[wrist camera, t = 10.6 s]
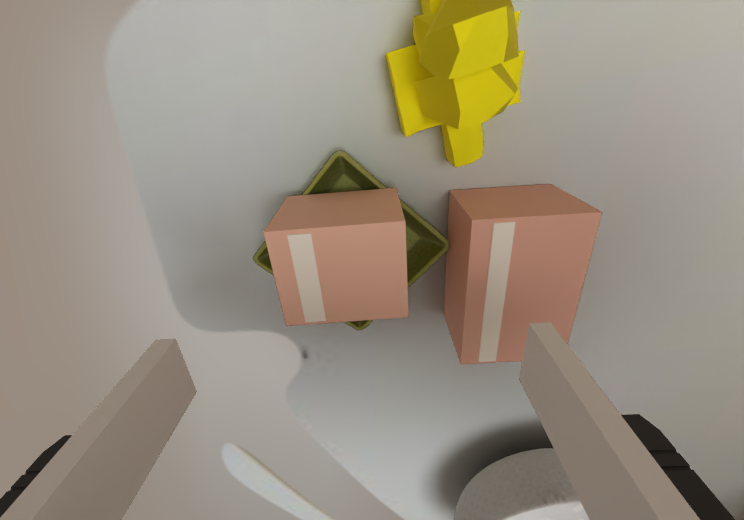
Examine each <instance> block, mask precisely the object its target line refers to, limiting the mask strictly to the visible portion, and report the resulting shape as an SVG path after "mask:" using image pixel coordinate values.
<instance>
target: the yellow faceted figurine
mask: <svg viewBox="0 0 744 520" xmlns="http://www.w3.org/2000/svg"><path fill="white" fill-rule="evenodd" d="M420 2H421V8H422V14H423V15H417V16H414V24H413V37H414V40H415V43H416V44H414V45H411V46H408V47H405V48H401V49H398V50H395V51H392V52H389V53H387V54H386V60H387V65H388V69H389V74H390V78H391V83H392V88H393V92H394V97H395V102H396V106H397V111H398V115H399V120H400V125H401V129H402V132H403V134H404V135H405V136H406V137H408V136H410V135H412V134H414V133H416V132H418V131H420V130H424V129H427V128H431V127H434V126H438V125H441V129H442V135H443V141H444V147H445V153H446V159H447V160H448V161H449V162H450V163H451V164H452V165H453V166H454V167H455V168H456V167H459V166H463V165H467V164H471V163H472V162H474V161H476V160H477V159H479V158H481V157H482V154H483V146H484V140H483V132H482V123H484V122H485V121H487V120H489V119H490V118H492V117H494V116H496V115H498V114H500V113H501V112H503V111H504V109H505V108H506V107H507V106H508V105H512V104H516V103H519V102H520V88H519V83H520V77H521V71H522V65H523V59H524V53H525V50H523V51H518V36H517V26H518V21H519V15H520V11H517V12H514V8H513V5H512V3H511V0H420Z"/></svg>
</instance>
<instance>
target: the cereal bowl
mask: <svg viewBox="0 0 744 520" xmlns="http://www.w3.org/2000/svg"><path fill="white" fill-rule="evenodd" d="M453 520H589V518H588V516H587V514H586V512H585V510H584V508H583V506H582V504H581V502H580V500H579V498H578V496H577V494H576V492H575V490H574V488H573V486H572V484H571V482H570V480H569V478H568V476H567V474H566V472H565V470H564V468H563V466H562V464H561V462H560V460H559V458H558V456H557V454H556V452H555V450H554V448H543V449H541V448H540V449H535V450H529V451H523V452H519V453H516V454H513V455H510V456H507V457H505V458H503V459H500V460H498V461H496V462H494V463H493V464H490V465H489V466H487V467H486V468H484V469H482V470H481V471H480V472H479V473H478V474H476V475H475V477H474V478H472V479H471V481H470V482H469V483H468V484H467V485H466V487H465V488H464V490H463V492H462V494H461V495H460V498H459V501H458V503H457V506H456V509H455V514H454V519H453Z"/></svg>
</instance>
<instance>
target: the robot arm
mask: <svg viewBox="0 0 744 520" xmlns="http://www.w3.org/2000/svg"><path fill="white" fill-rule="evenodd" d="M519 380H520V382H521V384H522V386H523V388H524V390H525V392H526V394H527V396H528V398H529V400H530V402H531V404H532V406H533V408H534V410H535V412H536V414H537V416H538V418H539V420H540V422H541V424H542V426H543V428H544V430H545V432H546V434H547V436H548V438H549V440H550V442H551V444H552V446H553V448H554V450H555V452H556V454H557V456H558V458H559V460H560V462H561V464H562V466H563V468H564V470H565V472H566V474H567V476H568V478H569V480H570V482H571V484H572V486H573V488H574V490H575V492H576V494H577V496H578V498H579V500H580V502H581V504H582V506H583V508H584V510H585V512H586V514H587V516H588V518H589V520H735V519H734V518H733V517H732V516H731V514H730V513H729V512H728V511H727V510H726V508H725V507H724V506H723V505H722V504H721V503H720V501H719V500H718V499H717V498H716V497H715V495H714V494H713V493H712V492H711V491H710V489H709V488H708V487H707V486H706V485H705V483H704V482H703V481H702V480H701V479H700V477H699V476H698V475H697V474H696V473H695V471H694V470H691V469H690V466H689V464H688V463H687V462H686V461H685V460H684V458H683V457H682V456H681V455H680V454H679V453H677V452H676V449H675V448H674V446H673V445H672V444H671V443H670V442H669V440H668V439H667V438H666V437H665V436H664V435H663V433H662V432H661V431H660V430H659V429H658V428H656V427H655V426H654V425H652V424H651V423H650V422H648V421H647V420H646V419H644V418H643V417H642V416H640V415H639V414H634V415H621V414H620V413H619V412H618V411H617V409H616V408H615V407H614V405H613V404H612V403H611V401H610V400H609V399H608V397H607V396H606V395H605V393H604V392H603V391H602V389H601V388H600V387H599V385H598V384H597V383H596V381H595V380H594V379H593V378H592V376H591V375H590V374H589V372H588V371H587V370H586V368H585V367H584V366H583V364H582V363H581V362H580V360H579V359H578V358H577V356H576V355H575V354H574V352H573V351H572V350H571V348H570V347H569V346H568V345H567V343H566V342H565V341H564V339H563V338H562V337H561V335H560V334H559V333H558V331H557V330H556V329H555V327H554V326H553V325H552V323H551V322H547V323H529V328H528V333H527V339H526V345H525V350H524V356H523V362H522V367H521V373H520V378H519ZM196 392H197V391H196V389H195V386H194V384H193V381H192V379H191V376H190V374H189V371H188V369H187V366H186V364H185V361H184V359H183V356H182V353H181V351H180V348H179V346H178V343H177V341H176V339H162V340H155V341H154V342H153V344H152V345H151V346H150V347H149V348H148V349H147V350H146V352H145V353H144V354H143V355H142V356H141V357H140V358H139V360H138V361H137V362H136V363H135V364H134V366H133V367H132V368H131V369H130V370H129V371H128V372H127V373H126V374H125V376H124V377H123V378H122V379H121V380H120V381H119V382H118V384H117V385H116V386H115V387H114V388H113V389H112V390H111V392H110V393H109V394H108V395H107V396H106V397H105V398H104V400H103V401H102V402H101V403H100V404H99V405H98V406H97V408H96V409H95V410H94V411H93V412H92V413H91V415H90V416H89V417H88V418H87V419H86V420H85V421H84V422H83V424H82V425H81V426H80V427H79V428H78V429H77V431H76V432H75V433H74V434H73V435H66V436H64V437H62V438H61V439H60V440H58V441H57V442H56V443H55V444H53V445H52V446H51V447H49V448H48V449H47V450H45V451H44V452H43V453H42V454H41V455H40V456H39V457H38V458H37V460H36V461H35V462H34V463H33V464H32V465H31V466H30V467H29V468H28V469H27V470H26V474H25V475H22V476H21V477H20V478H19V479H18V480H17V481H16V483H15V484H14V485H13V486H12V487H11V490H10V491H8V492H6V493H5V495H4V496H3V497H2V498H1V499H0V520H122V518H123V517H124V515H125V513H126V512H127V510H128V508H129V506H130V505H131V503H132V501H133V500H134V498H135V496H136V495H137V493H138V491H139V489H140V488H141V486H142V484H143V483H144V481H145V479H146V477H147V476H148V474H149V472H150V471H151V469H152V467H153V466H154V464H155V462H156V460H157V459H158V457H159V455H160V453H161V452H162V450H163V448H164V447H165V445H166V443H167V441H168V440H169V438H170V436H171V435H172V433H173V431H174V430H175V428H176V426H177V425H178V423H179V421H180V420H181V417H182V416H183V415H184V413H185V411H186V409H187V408H188V406H189V404H190V403H191V401H192V399H193V397H194V396H195V394H196Z"/></svg>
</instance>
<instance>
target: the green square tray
mask: <svg viewBox="0 0 744 520" xmlns="http://www.w3.org/2000/svg"><path fill="white" fill-rule="evenodd" d="M374 189H386V187H385V186H384V185H383V184H382V183H381V182H379V181H378V180H377V179H376V178H375V177H373V176H372V175H371V174H370V173H369V172H368V171H367V170H365V169H364V168H363V167H362V166H361V165H360V164H358V163H357V162H356V161H355V160H354V159H353V158H352V157H350V156H349V155H348V154H347V153H346V152H344V151H337V152H335V153H334V154H333V155H332V156H331V157H330V159H329V160H328V161H327V162H326V164H325V165H324V166H323V168H322V169H321V170H320V172H319V173H318V174H317V176H316V177H315V178H314V179H313V181H312V182H311V183H310V185H309V186H308V187H307V188H306V190H305V191H304V192H303V194H302V195H311V194H323V193H336V192H349V191H361V190H374ZM399 200H400V199H399ZM400 203H401V207H402V210H403V214H404V218H405V224H406V254H407V283H408V287H409V286H410V285H411V284H413V283H414V282H415V281H416V280H417V279H418V278H419V277H420V276H421V275H422V274H423V273H424V272H425V271H427V270H428V269H429V268H430V267H431V266H432V265H433V264H434V263H435V262H436V261H437V260H438V259H439V258H440V257H441V256H443V254H444V253H445V252H447V251H448V249H449V241H448V240H447V239H446V238H445V237H444V236H443V235H441V234H440V233H439V232H438V231H437V230H436V229H435V228H433V227H432V226H431V225H430V224H429V223H427V222H426V221H425V220H424V219H423V218H422V217H420V216H419V215H418V214H417V213H416V212H415V211H413V210H412V209H411V208H410V207H409V206H407V205H406V204H405V203H404V202H403V201H402V200H400ZM253 260H254V261H255V263H257V264H258V265H259V266H260V267H262V268H263V269H265V270H266V271H268V272H269V273H271V274H273V270H272V266H271V261H270V257H269V253H268V249H267V245H266V241H265V242H264V243H263V244H262V246H261V247H260V248H259V250H258V251H257V252H256V254H255V255H254V257H253ZM273 275H274V274H273ZM372 321H373V320H363V321H348V322H345V323H347V324H348V325H350V326H351V327H353V328H354V329H356V330H362V329H364V328H366V327H367V326H368V325H369V324H370V323H371V322H372Z"/></svg>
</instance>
